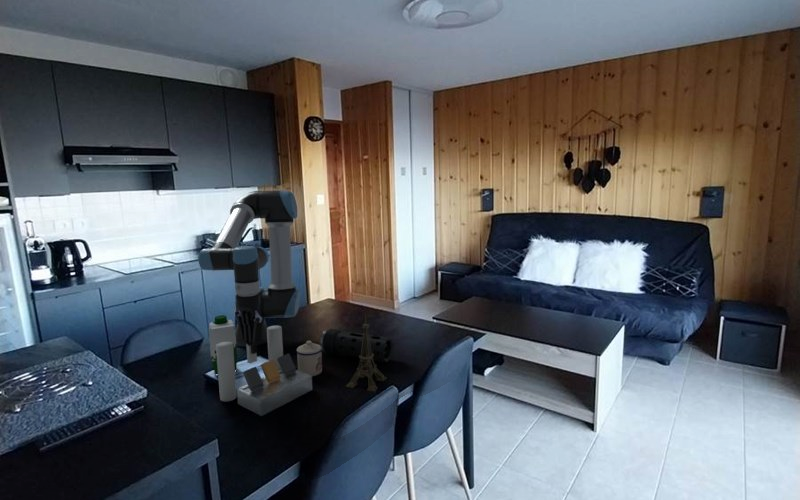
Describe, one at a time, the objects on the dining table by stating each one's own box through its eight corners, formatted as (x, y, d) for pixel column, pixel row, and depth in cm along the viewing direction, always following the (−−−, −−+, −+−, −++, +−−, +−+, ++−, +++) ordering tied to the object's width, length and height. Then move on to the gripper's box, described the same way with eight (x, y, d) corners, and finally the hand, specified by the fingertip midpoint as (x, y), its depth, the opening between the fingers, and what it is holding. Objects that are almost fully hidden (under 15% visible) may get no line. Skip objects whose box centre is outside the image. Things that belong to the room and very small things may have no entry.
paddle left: (251, 392, 133) (242, 372, 135) (262, 387, 137) (253, 368, 138) (253, 390, 132) (244, 371, 134) (264, 385, 136) (256, 366, 137)
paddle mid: (268, 384, 138) (260, 365, 140) (278, 379, 142) (270, 361, 143) (271, 382, 138) (262, 363, 139) (281, 378, 141) (273, 359, 142)
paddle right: (285, 377, 144) (277, 358, 145) (294, 372, 147) (286, 354, 148) (287, 375, 143) (279, 357, 144) (297, 371, 146) (289, 353, 147)
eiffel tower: (346, 386, 147) (344, 315, 143) (359, 373, 157) (358, 306, 153) (374, 391, 143) (373, 319, 139) (386, 378, 153) (386, 309, 149)
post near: (217, 398, 139) (212, 345, 136) (231, 392, 143) (227, 340, 140) (225, 403, 137) (221, 348, 134) (239, 396, 140) (236, 343, 138)
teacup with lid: (321, 376, 154) (320, 345, 152) (295, 378, 153) (294, 346, 152) (324, 362, 166) (323, 333, 164) (300, 363, 165) (299, 334, 163)
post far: (266, 376, 154) (263, 328, 152) (278, 371, 158) (275, 324, 155) (275, 380, 152) (272, 331, 149) (287, 375, 155) (284, 327, 152)
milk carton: (236, 363, 165) (232, 313, 162) (239, 373, 158) (235, 320, 154) (211, 368, 161) (207, 317, 158) (213, 378, 154) (208, 324, 150)
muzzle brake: (383, 368, 161) (383, 342, 159) (318, 357, 171) (317, 332, 170) (393, 358, 170) (393, 333, 168) (331, 348, 180) (330, 324, 178)
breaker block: (237, 403, 136) (236, 388, 135) (289, 380, 152) (288, 365, 151) (261, 416, 129) (260, 399, 128) (312, 389, 145) (311, 374, 144)
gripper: (226, 293, 143) (231, 360, 147) (249, 299, 135) (254, 370, 139) (246, 288, 149) (250, 353, 153) (269, 294, 141) (273, 362, 145)
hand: (252, 361), depth 146 cm, fingers closed
